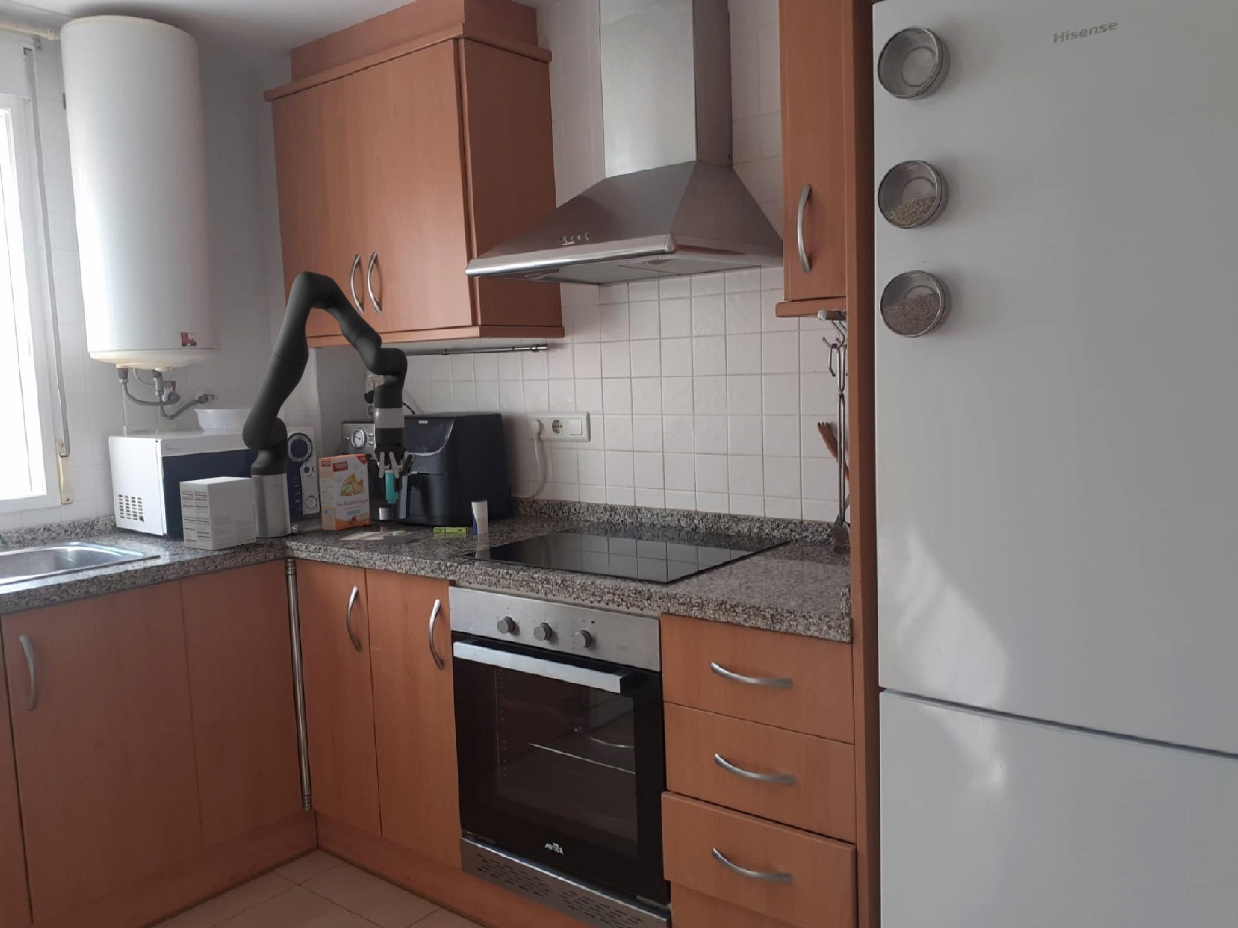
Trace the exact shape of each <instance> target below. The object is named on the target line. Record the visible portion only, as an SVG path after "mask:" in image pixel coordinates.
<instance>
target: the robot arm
mask: <svg viewBox="0 0 1238 928" xmlns="http://www.w3.org/2000/svg"><path fill="white" fill-rule="evenodd" d="M312 309H317V310H323V311H325V312H326V313H328V314H329V315H331V316H332V317H333V318H334V319H335V320H336V321H337V322H338V326H339V329H340V332H341V334H342V335H343V337H344V338H345V340H346V341H347V342H348V343H349V344H350V345H351V347H353V348H354V349H355V350H356V351H357V352H358V354H359V356H360V358H361V360H362V362H363V364H364V366H365V367H366V370H368V371H369V372H370V373H372V374H373V375H376V376H385V378H384V381H383V383H382V384H380V385H377V386H375V388H374V414H373V415H374V416H373V420H374V421H373V422H374V424H373V425H374V443H375V448H374V450H373V451H372V452H370V453H365V458H366V460H367V465H368V467H369V469H370V471H371V474H372V475H373V476H377V477H379V486H380V490H381V492H382V493H386V482H385V470H389V468H390V466H391V469H393V470H394V474H395V477H396V478H394V486H395V492H398V493H401V492H402V490H403V478H404V477H405V476H408V475H410V473H411V470H412V468H413V465H414V462H415V460H416V457H417V455H416V454H415V453H411V452H409V451H407V448H406V445H405V444H406V443H405V441H406V439H405V438H406V436H405V414H404V409H403V407H404V406H403V389H404V388H405V381H406V377H407V372H408V367H409V366H408V365H409V364H408V363H409V362H408V358H407V355H406V353H405V352H404V351H403V349H400V348H397V347H382V345H383V339H382V337H381V335H380V334H379V333H378V332H377V330H376V329H374V328H373V327H372V326H371V324H369V322H367V321H366V320H365V318H363V316H362V315H361V314H360V313H359V312H358V311H357V310H356V308H355V307H354V305H353V304H352V303H351V301H350V300H349V299H348V298H347V296H346V295H345V293H344V292H343V290H342V289H341V288H340V286H339V284H338V283H337V282H336V281H335V279H334V278H333V277H330V276H328V275H325V274H321V273H318V272H313V271H308V270H307V271H306V270H305V271H301V272H300V273H298V275H297V276H296V277H295V279H294V281H293V283H292V285H291V289H290V292H289V296H288V301H287V306H286V310H285V314H284V318H283V321H282V323H281V324H282V325H281V327H280V331H279V335H278V337H277V341H276V343H275V345H274V348H273V350H272V354H271V356H270V358H269V362H268V363H267V369H266V372H265V374H264V378H263V379H262V381H261V385H260V387H259V391H258V394H257V396H256V399H255V401H254V403H253V405H252V407H251V410H250V411H249V413H248V415H247V418H246V420H245V422H244V424H243V426H242V434H241V435H242V436H241V437H242V441H243V444H244V445H245V447H247V448H248V449H249V450H252V451H258V453H257V458H256V460H255V461H254V462H252V464H251V465H250V475H251V477H250V478H251V480H252V494H253V506H254V519H255V531H256V538H261V539H264V538H277V537H278V538H279V537H285V536H288V534H289V535H290V534H291V523H290V521H291V520H290V506H289V505H290V504H289V491H288V479H287V466H288V461H289V435H288V429H287V426H286V424H285V422H284V421H283V419H282V418H280V417H279V416H278V415H279V412H280V410H281V408H282V407H283V405H284V403H285V402H286V401H287V399H288V398H289V396H291V394H292V393H293V391H295V389H296V388H297V387H298V385H299V383H300V382H301V380H302V377H303V375H304V372H305V370H306V367H307V364H308V362H309V361H308V360H309V357H310V355H309V354H310V350H309V345H308V338H307V333H306V328H307V321H308V319H309V315H310V313H311V310H312ZM377 459H378V460H379V464H378V461H377ZM403 459H404V461H405V462H404V464H403V462H402V460H403Z"/></svg>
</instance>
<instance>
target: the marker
mask: <svg viewBox="0 0 1238 928" xmlns="http://www.w3.org/2000/svg"><path fill="white" fill-rule="evenodd" d="M394 478H396V477H395V474H394V470H393V468H391V469H388V470H385V482H386V492H385V500H386V501H387V503H388V504H396V503H397V500H398V499H399V498H398V497H399V494H398V493H399V492H395V486H394Z"/></svg>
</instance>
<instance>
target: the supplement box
mask: <svg viewBox="0 0 1238 928" xmlns="http://www.w3.org/2000/svg"><path fill="white" fill-rule="evenodd" d="M179 491H180V492H179V493H180V505H181V515H182V518H181V519H182V528H183V530H182V531H183V540H184V541H183V543H184V547H185V548H193V549H197V550H199V549H200V550H206V551H217V550H223V549H226V548H232V547H233V548H234V547H238V546H237V545H239V546H242V545H241V544H244V545H248V544H252V543H253V544H254V543H256V542H257V537H256V531H255V519H254V506H253V491H252V479H251V477H234V476H233V477H232V476H219V477H212V478H211V477H210V478H209V477H208V478H204V479H197V480H187V481H179Z"/></svg>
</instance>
